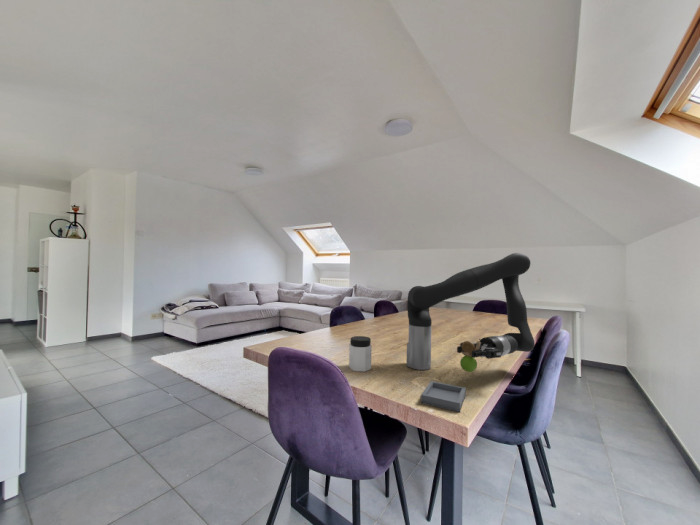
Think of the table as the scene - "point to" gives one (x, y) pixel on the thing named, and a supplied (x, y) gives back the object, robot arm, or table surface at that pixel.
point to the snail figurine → (469, 356)
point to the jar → (360, 353)
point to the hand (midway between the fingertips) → (465, 352)
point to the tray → (444, 396)
